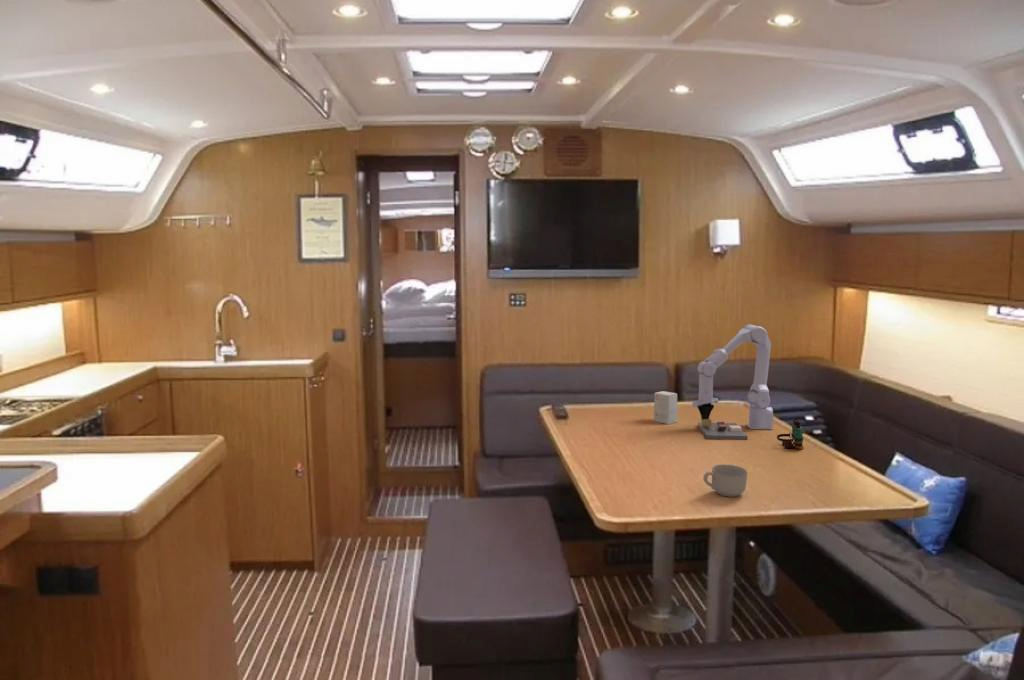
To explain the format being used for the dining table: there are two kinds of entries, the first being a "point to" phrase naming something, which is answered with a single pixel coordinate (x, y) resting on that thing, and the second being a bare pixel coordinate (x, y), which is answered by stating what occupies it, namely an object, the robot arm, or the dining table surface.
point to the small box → (665, 407)
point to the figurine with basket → (793, 436)
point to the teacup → (727, 479)
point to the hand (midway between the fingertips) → (705, 421)
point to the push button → (735, 428)
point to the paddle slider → (706, 422)
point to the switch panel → (721, 432)
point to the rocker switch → (721, 425)
